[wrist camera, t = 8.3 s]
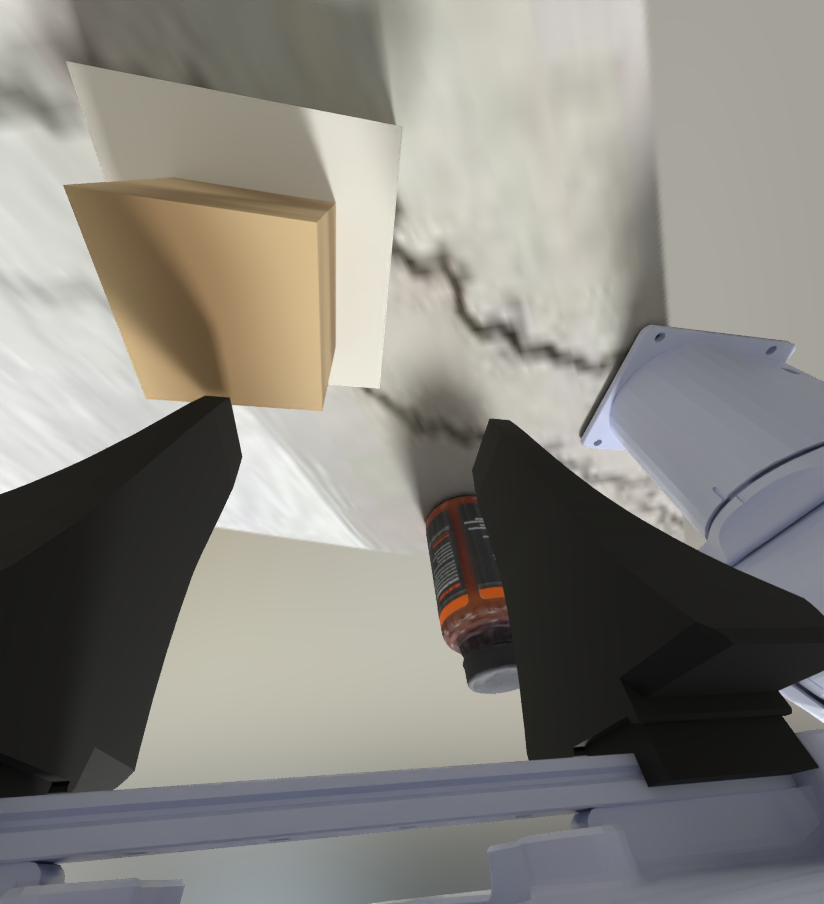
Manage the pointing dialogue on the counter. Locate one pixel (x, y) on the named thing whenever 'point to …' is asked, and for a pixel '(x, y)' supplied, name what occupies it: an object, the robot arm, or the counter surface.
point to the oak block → (216, 287)
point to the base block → (265, 177)
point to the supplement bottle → (471, 595)
